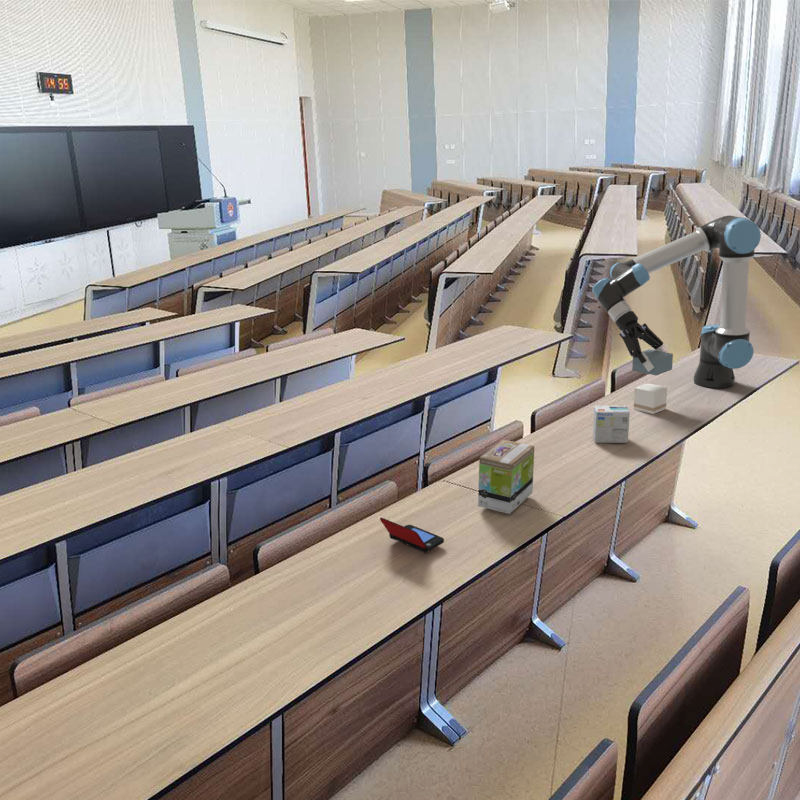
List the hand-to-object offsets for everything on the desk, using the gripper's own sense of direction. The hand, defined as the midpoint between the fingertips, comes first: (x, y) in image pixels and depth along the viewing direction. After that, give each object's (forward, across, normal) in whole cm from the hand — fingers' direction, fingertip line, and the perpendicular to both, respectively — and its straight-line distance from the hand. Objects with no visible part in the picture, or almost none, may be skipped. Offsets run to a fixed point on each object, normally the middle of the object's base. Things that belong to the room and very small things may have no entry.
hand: (660, 366), depth 273 cm
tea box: (+20, +92, -3) cm, 94 cm away
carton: (+9, 0, -14) cm, 17 cm away
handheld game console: (+20, +126, -3) cm, 128 cm away
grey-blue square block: (-1, 0, -4) cm, 4 cm away
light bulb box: (+15, +35, -8) cm, 39 cm away
